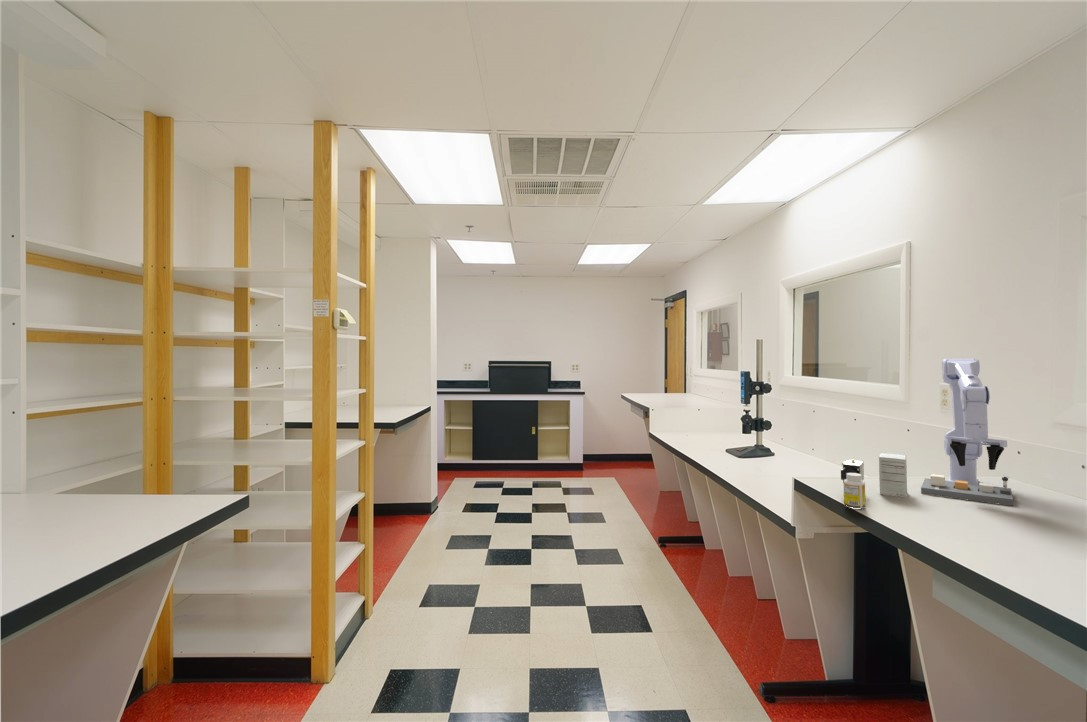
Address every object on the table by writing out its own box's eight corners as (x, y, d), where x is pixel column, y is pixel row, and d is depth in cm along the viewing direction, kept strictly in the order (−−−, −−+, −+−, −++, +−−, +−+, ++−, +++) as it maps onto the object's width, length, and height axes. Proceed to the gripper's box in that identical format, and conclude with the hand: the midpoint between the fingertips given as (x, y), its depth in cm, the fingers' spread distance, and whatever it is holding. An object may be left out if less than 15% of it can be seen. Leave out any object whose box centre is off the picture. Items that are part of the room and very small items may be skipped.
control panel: (925, 483, 174) (925, 475, 174) (1011, 494, 159) (1010, 485, 159) (921, 493, 162) (921, 484, 162) (1013, 506, 148) (1012, 496, 148)
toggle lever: (1001, 487, 155) (1001, 476, 156) (1008, 488, 154) (1008, 477, 155) (1002, 486, 154) (1001, 475, 155) (1008, 487, 153) (1008, 476, 154)
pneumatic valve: (864, 492, 165) (864, 457, 165) (859, 501, 156) (859, 463, 156) (845, 489, 169) (845, 455, 169) (839, 498, 160) (838, 461, 160)
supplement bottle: (858, 504, 153) (857, 471, 153) (869, 510, 147) (869, 476, 147) (840, 504, 153) (839, 472, 153) (851, 510, 148) (850, 476, 147)
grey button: (979, 490, 159) (979, 482, 159) (992, 492, 157) (992, 484, 157) (979, 492, 157) (979, 484, 157) (992, 494, 155) (992, 486, 155)
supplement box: (880, 489, 169) (880, 452, 168) (907, 492, 164) (907, 455, 164) (878, 494, 163) (878, 456, 163) (906, 498, 158) (906, 459, 158)
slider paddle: (931, 482, 167) (931, 474, 166) (945, 484, 164) (944, 475, 164) (930, 484, 164) (930, 475, 164) (944, 486, 162) (944, 477, 162)
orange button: (955, 487, 163) (955, 480, 163) (968, 489, 161) (967, 481, 161) (954, 489, 161) (954, 482, 161) (967, 491, 159) (967, 483, 159)
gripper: (941, 422, 160) (943, 464, 159) (998, 426, 147) (1000, 472, 146) (953, 422, 163) (954, 463, 162) (1009, 425, 150) (1011, 470, 149)
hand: (976, 467), depth 155 cm, fingers open, 7 cm apart
